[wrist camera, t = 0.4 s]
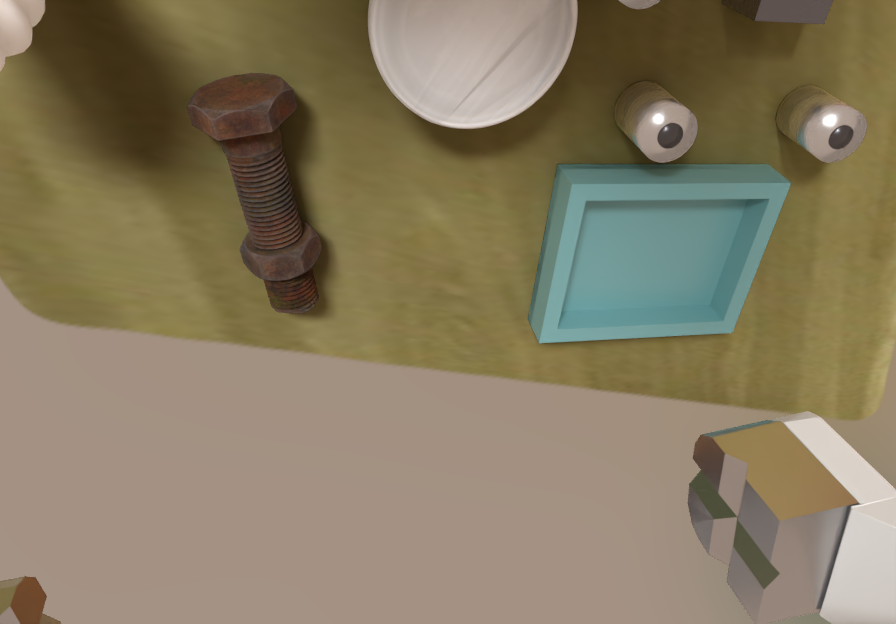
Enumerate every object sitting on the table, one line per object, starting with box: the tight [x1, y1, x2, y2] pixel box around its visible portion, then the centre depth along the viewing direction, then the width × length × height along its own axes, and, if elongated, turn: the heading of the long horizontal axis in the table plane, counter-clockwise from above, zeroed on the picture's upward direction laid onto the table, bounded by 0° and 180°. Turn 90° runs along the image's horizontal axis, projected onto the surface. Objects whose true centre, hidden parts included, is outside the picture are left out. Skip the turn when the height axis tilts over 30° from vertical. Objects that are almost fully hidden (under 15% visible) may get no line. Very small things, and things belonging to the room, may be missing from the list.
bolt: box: [187, 73, 322, 313], centre depth 46 cm, size 6×5×15 cm
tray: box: [528, 164, 791, 343], centre depth 55 cm, size 13×16×3 cm
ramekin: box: [368, 0, 578, 129], centre depth 41 cm, size 11×11×5 cm
